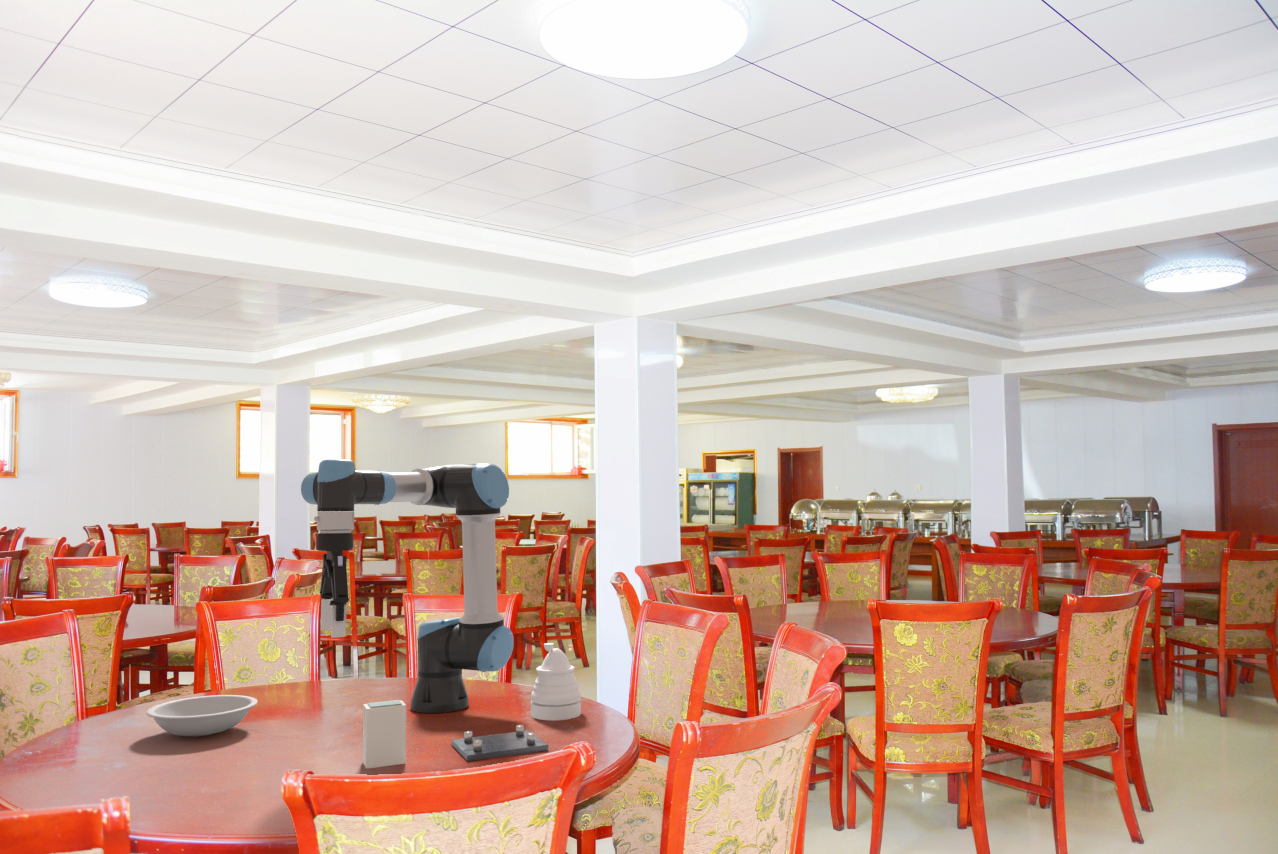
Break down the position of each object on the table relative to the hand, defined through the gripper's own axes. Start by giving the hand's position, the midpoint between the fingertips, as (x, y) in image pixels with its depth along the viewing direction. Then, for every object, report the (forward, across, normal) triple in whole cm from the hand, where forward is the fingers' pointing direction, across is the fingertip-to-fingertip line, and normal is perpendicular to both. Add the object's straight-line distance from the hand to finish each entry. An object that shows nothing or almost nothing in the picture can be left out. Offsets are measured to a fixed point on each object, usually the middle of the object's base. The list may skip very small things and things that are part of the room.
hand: (332, 633), depth 188 cm
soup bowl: (+27, -43, -22) cm, 56 cm away
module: (+27, +4, +10) cm, 29 cm away
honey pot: (+27, -18, +59) cm, 67 cm away
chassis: (+27, +5, +35) cm, 45 cm away
